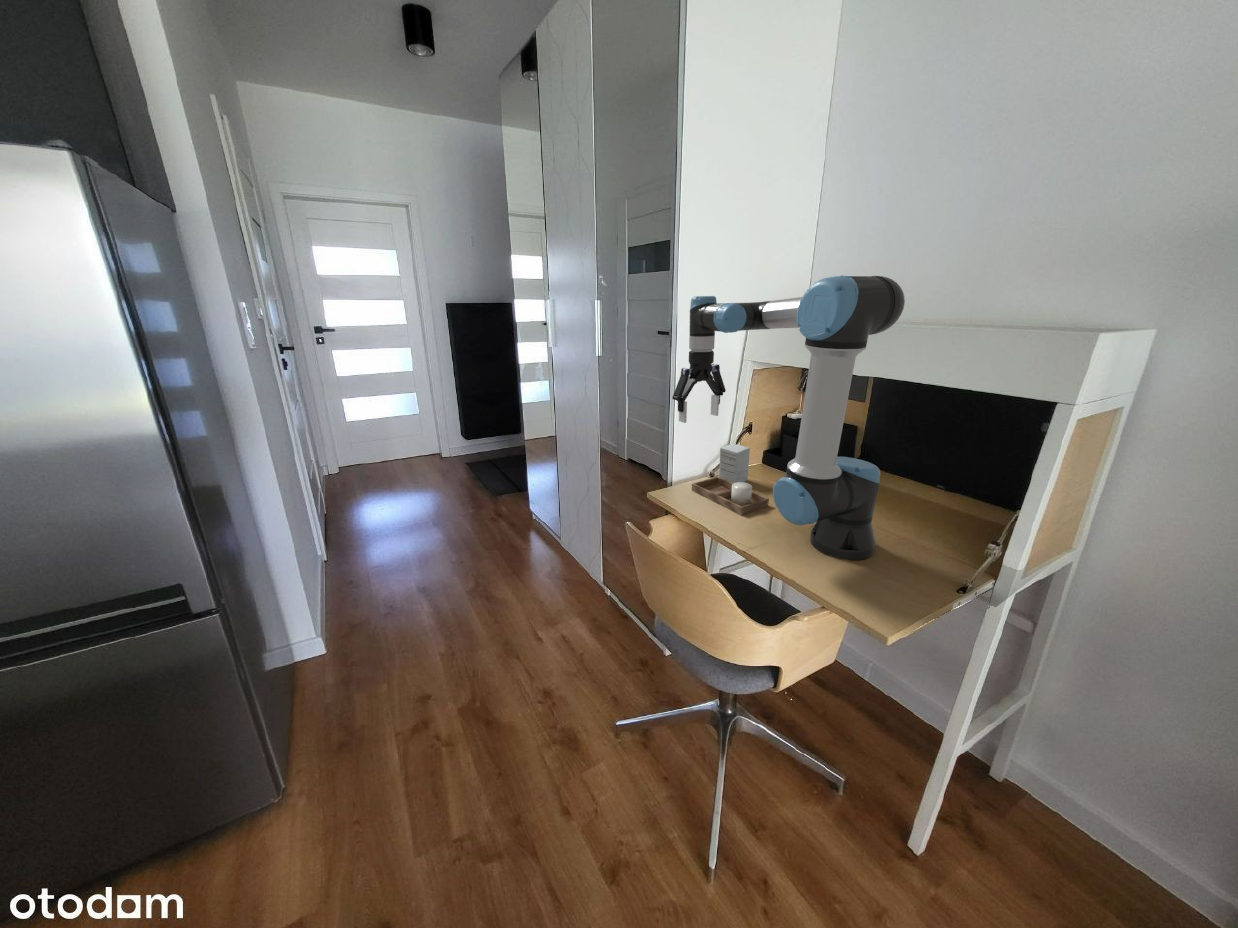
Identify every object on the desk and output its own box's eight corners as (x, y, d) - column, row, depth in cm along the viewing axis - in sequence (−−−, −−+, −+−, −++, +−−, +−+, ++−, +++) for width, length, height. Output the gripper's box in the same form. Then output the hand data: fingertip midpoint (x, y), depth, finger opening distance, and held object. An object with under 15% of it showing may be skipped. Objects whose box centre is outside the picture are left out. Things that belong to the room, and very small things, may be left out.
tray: (768, 507, 140) (768, 498, 139) (740, 517, 135) (741, 508, 134) (717, 484, 158) (717, 476, 157) (691, 492, 153) (691, 483, 152)
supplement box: (730, 476, 165) (732, 442, 161) (748, 481, 160) (750, 447, 155) (717, 481, 161) (719, 447, 156) (735, 487, 155) (737, 452, 151)
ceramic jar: (754, 504, 141) (756, 486, 139) (740, 509, 138) (742, 491, 136) (740, 498, 146) (741, 480, 144) (726, 502, 143) (727, 485, 141)
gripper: (722, 346, 148) (718, 410, 155) (661, 352, 135) (660, 422, 142) (739, 347, 142) (735, 414, 149) (677, 354, 129) (676, 427, 136)
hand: (698, 418), depth 146 cm, fingers open, 13 cm apart
